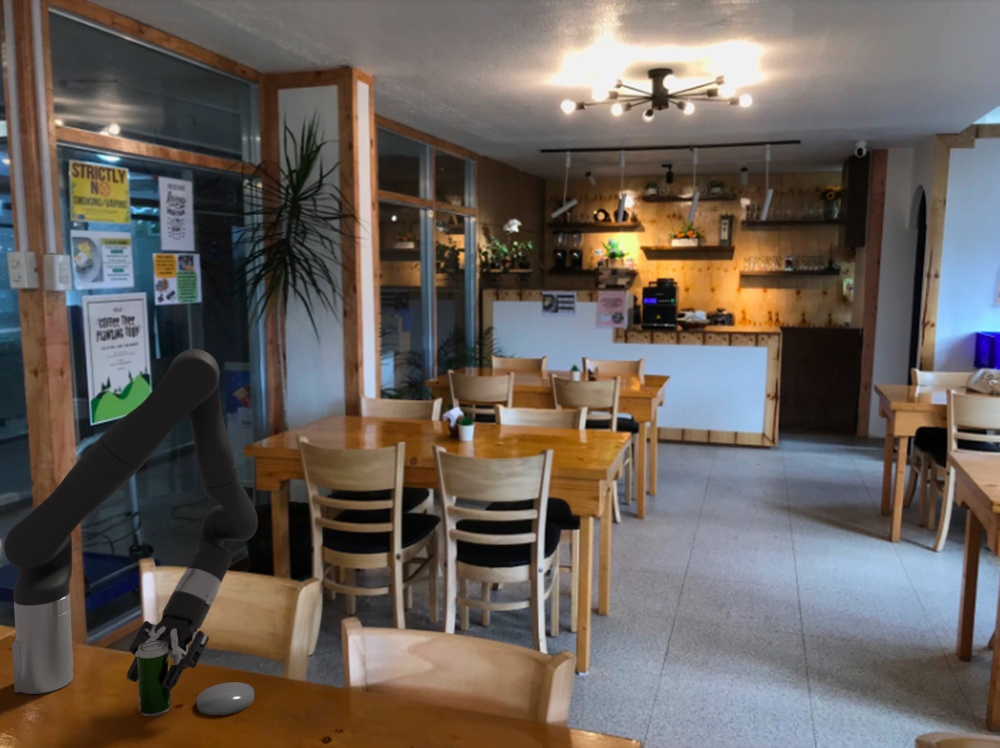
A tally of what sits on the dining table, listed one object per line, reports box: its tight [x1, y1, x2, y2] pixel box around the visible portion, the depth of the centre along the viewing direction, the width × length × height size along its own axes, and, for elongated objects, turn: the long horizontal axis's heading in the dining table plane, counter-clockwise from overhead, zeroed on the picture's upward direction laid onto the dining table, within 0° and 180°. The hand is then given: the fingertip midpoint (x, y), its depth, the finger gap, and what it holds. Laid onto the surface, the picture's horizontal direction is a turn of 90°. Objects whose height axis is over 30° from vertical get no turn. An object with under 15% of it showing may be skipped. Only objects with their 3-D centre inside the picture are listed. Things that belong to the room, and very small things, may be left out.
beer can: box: [137, 640, 172, 717], centre depth 141 cm, size 5×5×12 cm
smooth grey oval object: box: [196, 681, 255, 716], centre depth 144 cm, size 10×10×1 cm
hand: (148, 684), depth 140 cm, fingers open, 7 cm apart
